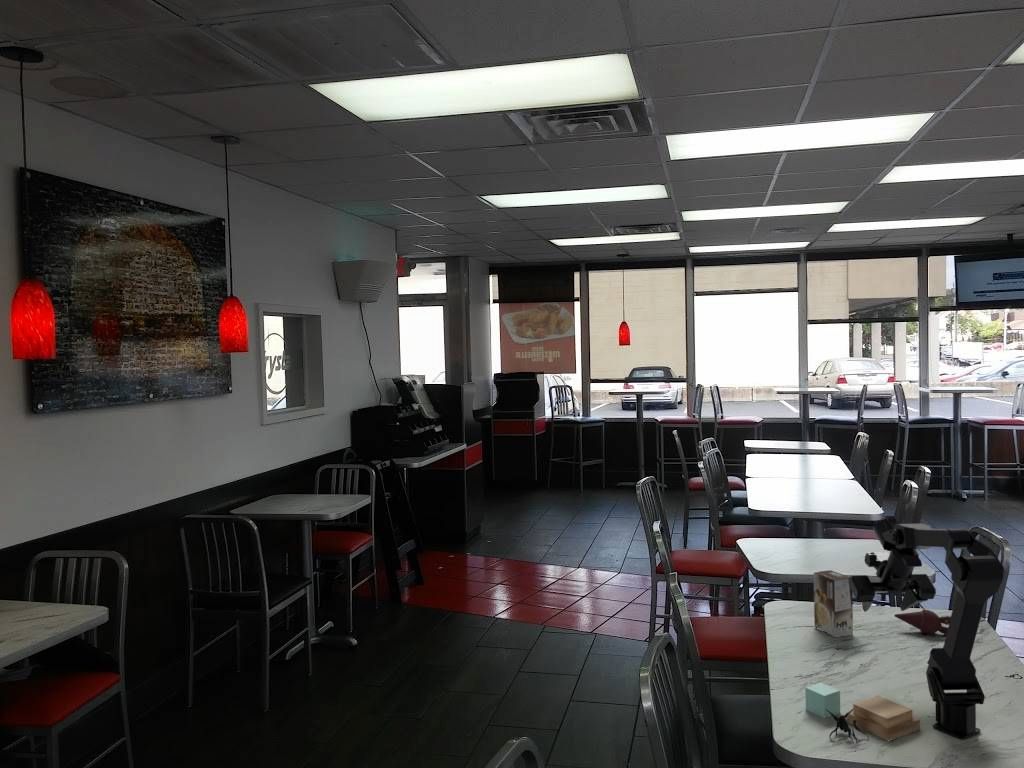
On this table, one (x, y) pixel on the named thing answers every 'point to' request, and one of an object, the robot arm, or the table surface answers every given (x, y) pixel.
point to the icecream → (926, 621)
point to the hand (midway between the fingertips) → (883, 609)
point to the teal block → (822, 700)
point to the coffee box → (833, 603)
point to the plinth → (884, 730)
